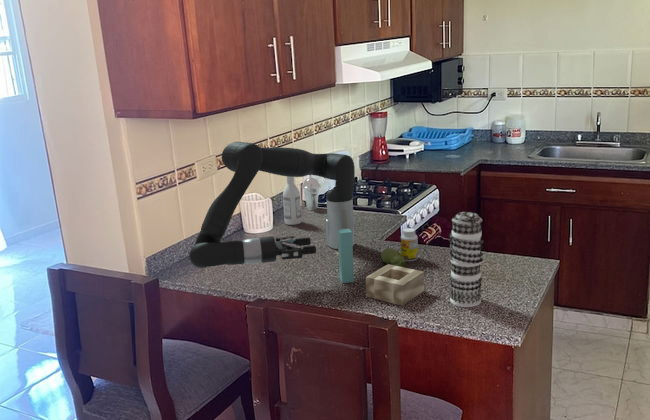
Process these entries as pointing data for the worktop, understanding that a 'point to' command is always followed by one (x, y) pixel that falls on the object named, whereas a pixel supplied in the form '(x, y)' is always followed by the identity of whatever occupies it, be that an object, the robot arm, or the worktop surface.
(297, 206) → the bath foam
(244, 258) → the robot arm
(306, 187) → the cup with straw
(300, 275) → the worktop surface
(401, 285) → the socket block
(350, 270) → the peg
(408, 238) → the supplement bottle
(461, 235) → the decorative candle
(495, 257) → the worktop surface
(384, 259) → the pear
